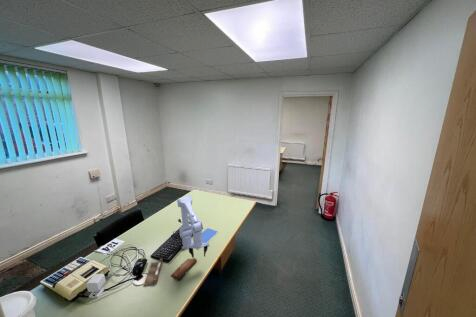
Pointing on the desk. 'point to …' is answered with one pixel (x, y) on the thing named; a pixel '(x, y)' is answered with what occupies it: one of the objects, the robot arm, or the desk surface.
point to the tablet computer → (208, 235)
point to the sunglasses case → (183, 269)
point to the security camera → (96, 285)
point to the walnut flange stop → (153, 273)
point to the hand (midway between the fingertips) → (198, 256)
